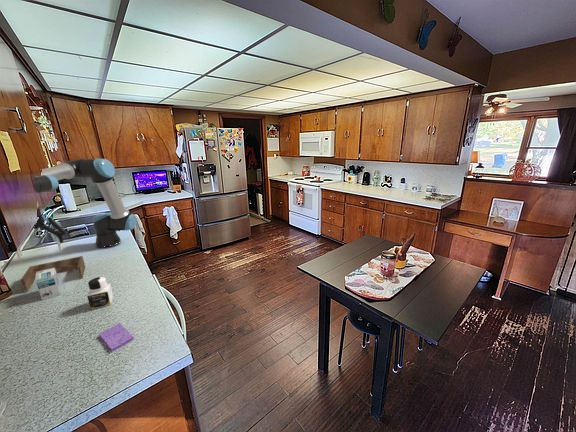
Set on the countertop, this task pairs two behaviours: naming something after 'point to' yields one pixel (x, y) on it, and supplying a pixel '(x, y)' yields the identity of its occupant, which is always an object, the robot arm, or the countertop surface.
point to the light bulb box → (48, 283)
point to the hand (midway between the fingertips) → (41, 253)
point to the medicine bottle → (99, 293)
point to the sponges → (116, 337)
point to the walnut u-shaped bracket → (59, 267)
